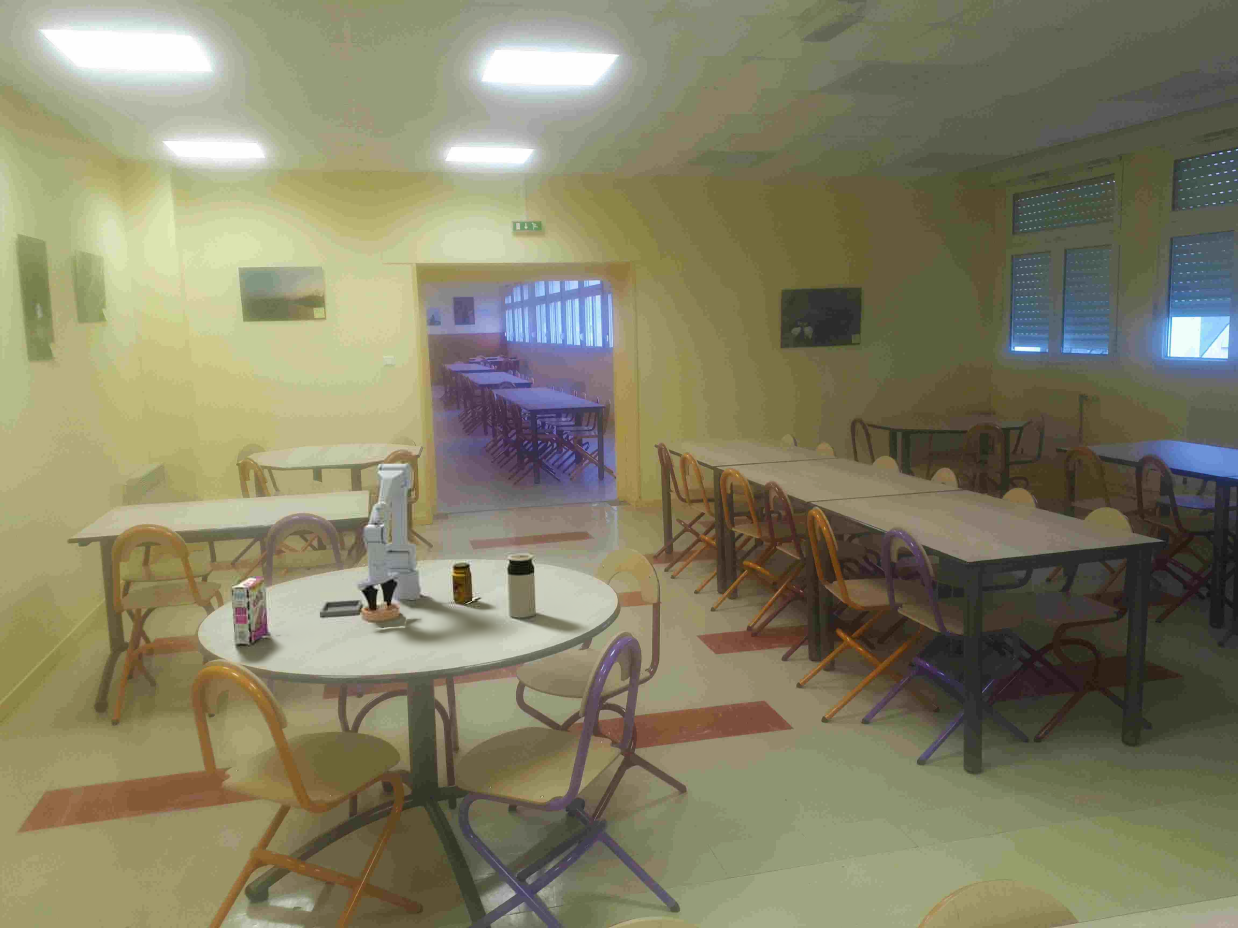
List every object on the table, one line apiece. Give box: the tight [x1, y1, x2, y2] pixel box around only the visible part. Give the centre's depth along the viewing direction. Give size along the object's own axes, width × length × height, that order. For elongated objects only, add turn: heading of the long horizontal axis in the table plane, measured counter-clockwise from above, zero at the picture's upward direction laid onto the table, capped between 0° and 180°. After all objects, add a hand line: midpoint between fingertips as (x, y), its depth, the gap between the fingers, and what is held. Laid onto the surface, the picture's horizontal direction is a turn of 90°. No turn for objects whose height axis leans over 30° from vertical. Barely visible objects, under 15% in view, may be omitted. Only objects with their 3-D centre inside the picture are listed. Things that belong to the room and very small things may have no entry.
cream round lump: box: [374, 600, 387, 612], centre depth 268 cm, size 4×4×4 cm
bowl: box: [360, 602, 401, 622], centre depth 268 cm, size 11×11×3 cm
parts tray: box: [319, 599, 363, 618], centre depth 274 cm, size 11×11×2 cm
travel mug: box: [507, 553, 537, 619], centre depth 266 cm, size 8×8×18 cm
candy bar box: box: [231, 577, 269, 646], centre depth 249 cm, size 11×5×16 cm, turn 178°
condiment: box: [448, 562, 474, 604], centre depth 283 cm, size 7×8×12 cm
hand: (380, 607), depth 267 cm, fingers open, 5 cm apart
